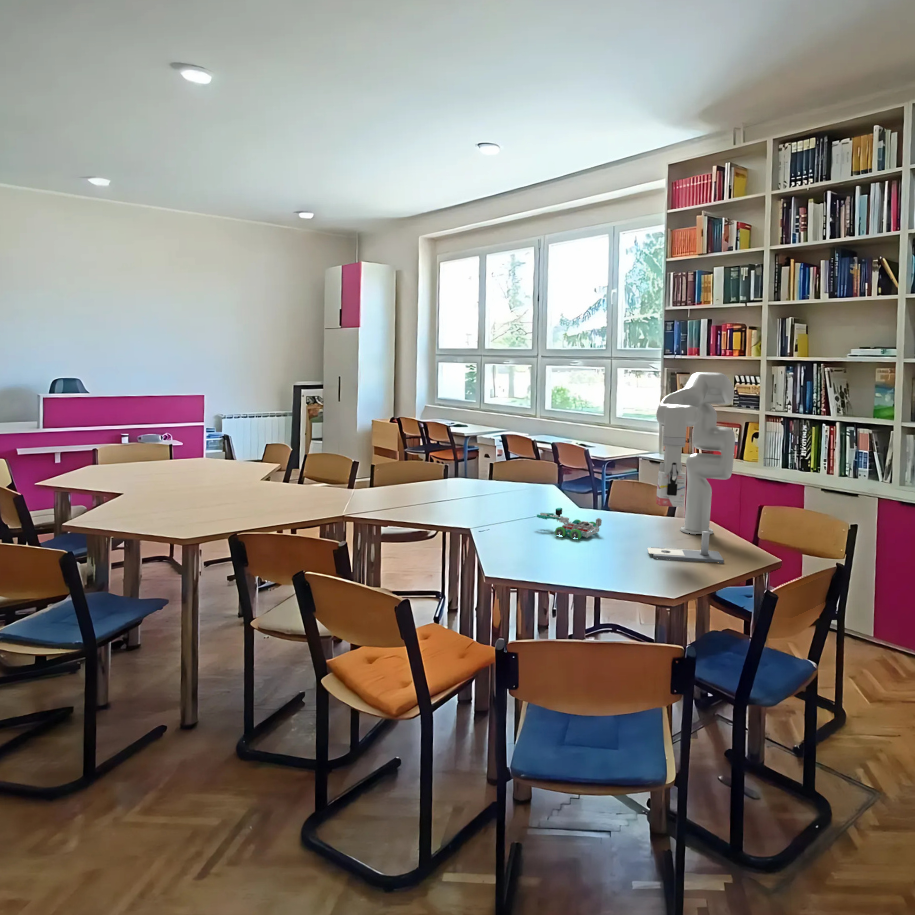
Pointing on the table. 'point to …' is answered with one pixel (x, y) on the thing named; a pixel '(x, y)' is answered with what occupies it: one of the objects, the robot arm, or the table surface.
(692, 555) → the plate
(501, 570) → the table surface
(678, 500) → the ink cartridge box
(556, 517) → the robot kit
